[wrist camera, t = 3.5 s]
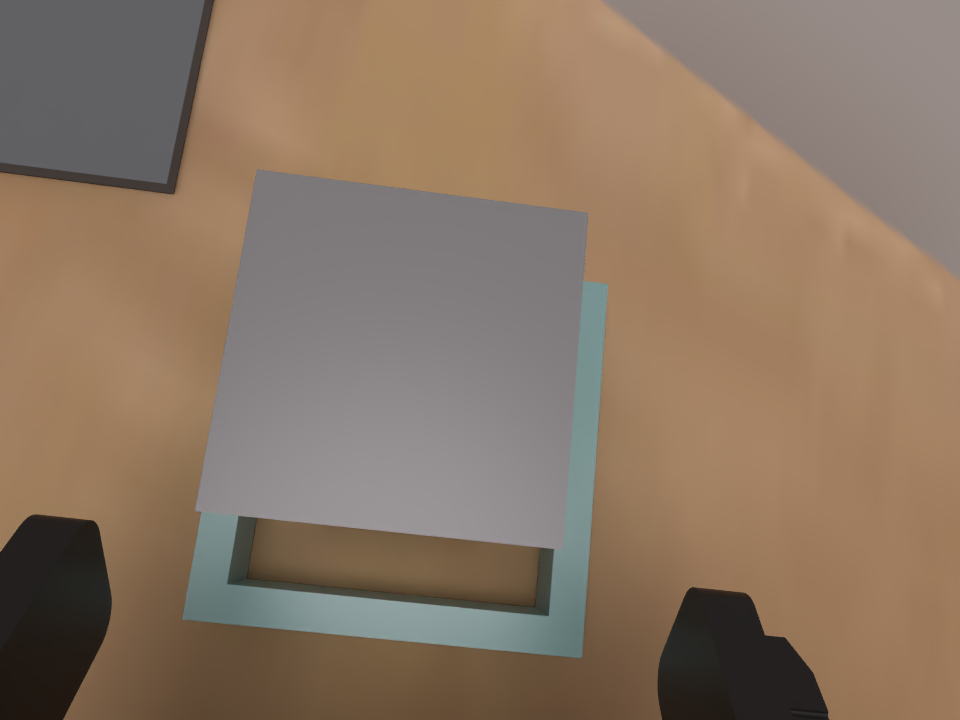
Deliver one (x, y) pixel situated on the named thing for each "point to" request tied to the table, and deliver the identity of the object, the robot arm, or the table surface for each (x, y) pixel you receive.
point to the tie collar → (411, 618)
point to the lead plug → (399, 363)
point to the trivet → (99, 88)
